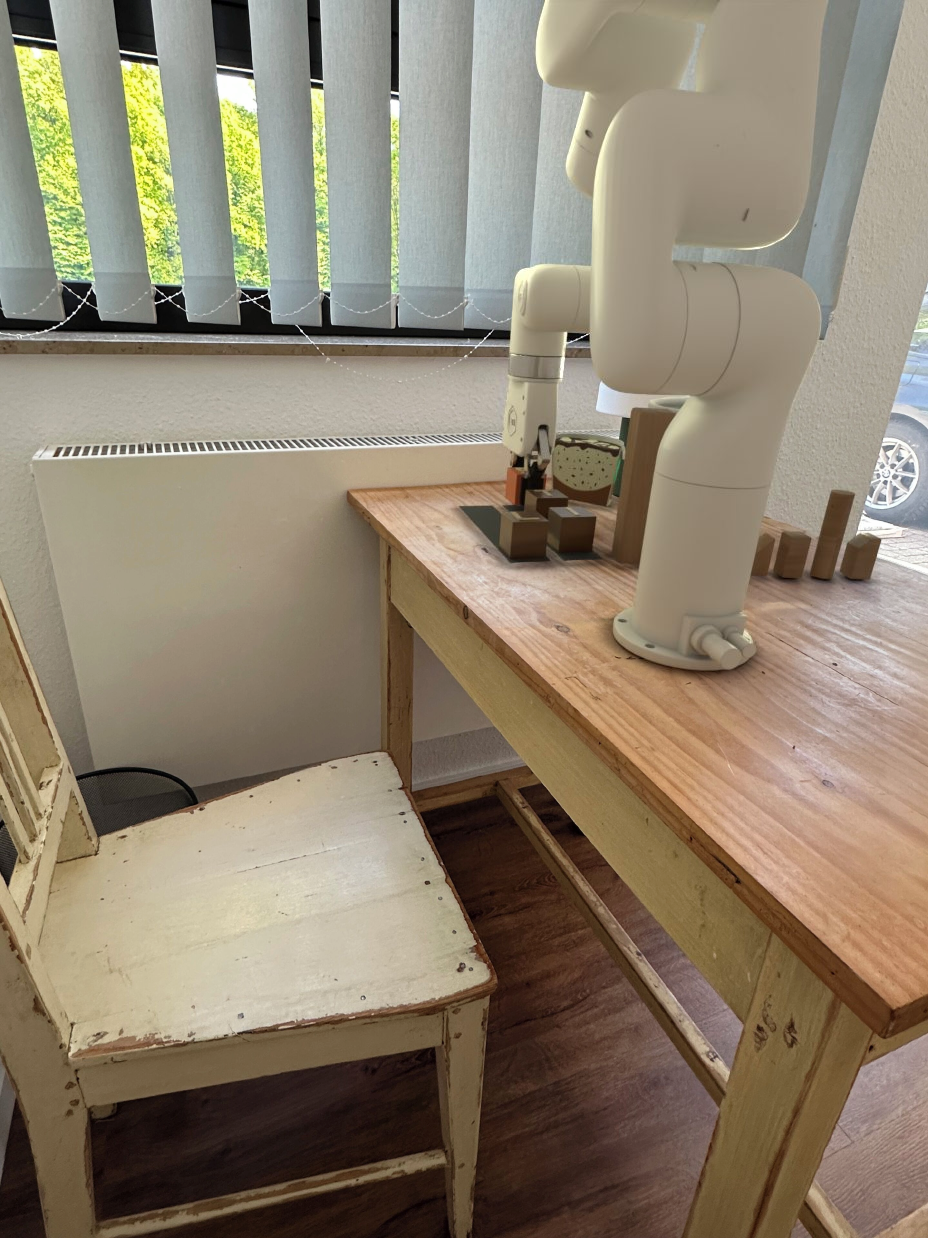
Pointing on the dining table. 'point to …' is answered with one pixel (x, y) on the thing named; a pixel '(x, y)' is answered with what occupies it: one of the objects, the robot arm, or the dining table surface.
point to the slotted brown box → (571, 529)
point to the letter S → (515, 484)
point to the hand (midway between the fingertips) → (524, 498)
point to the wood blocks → (821, 547)
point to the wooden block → (638, 481)
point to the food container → (586, 466)
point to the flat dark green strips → (490, 525)
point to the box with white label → (523, 534)
